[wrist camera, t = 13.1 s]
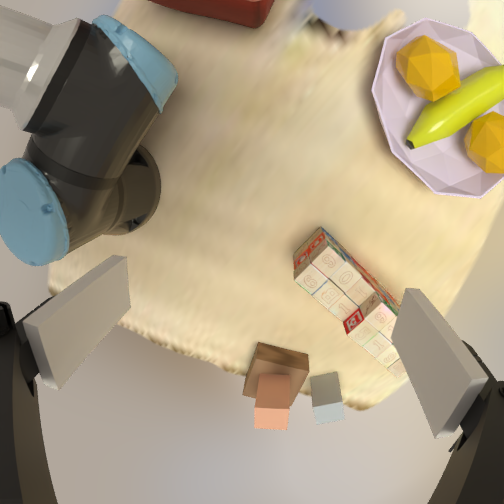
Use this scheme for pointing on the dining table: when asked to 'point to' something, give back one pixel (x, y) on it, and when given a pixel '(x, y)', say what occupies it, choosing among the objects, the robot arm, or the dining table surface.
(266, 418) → the terracotta block
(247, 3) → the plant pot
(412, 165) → the fruit bowl
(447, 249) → the dining table surface
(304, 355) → the walnut base
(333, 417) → the greyblue block
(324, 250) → the stack of blocks
